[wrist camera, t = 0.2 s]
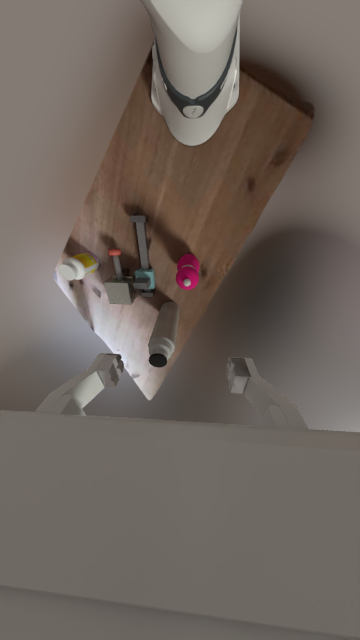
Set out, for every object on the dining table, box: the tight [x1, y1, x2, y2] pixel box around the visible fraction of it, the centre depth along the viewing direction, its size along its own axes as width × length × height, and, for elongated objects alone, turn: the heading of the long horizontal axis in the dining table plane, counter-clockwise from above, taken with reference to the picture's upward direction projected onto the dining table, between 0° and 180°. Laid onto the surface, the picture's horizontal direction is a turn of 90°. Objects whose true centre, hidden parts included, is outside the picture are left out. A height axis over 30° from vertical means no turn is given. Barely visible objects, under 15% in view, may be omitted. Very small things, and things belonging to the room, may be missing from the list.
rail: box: [130, 216, 155, 297], centre depth 52 cm, size 25×4×4 cm, turn 0°
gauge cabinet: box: [104, 276, 138, 305], centre depth 56 cm, size 8×8×8 cm
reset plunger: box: [108, 249, 123, 280], centre depth 52 cm, size 11×4×4 cm, turn 0°
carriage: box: [133, 268, 155, 289], centre depth 52 cm, size 6×6×9 cm
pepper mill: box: [176, 254, 199, 290], centre depth 45 cm, size 7×7×20 cm
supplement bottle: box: [58, 252, 99, 280], centre depth 50 cm, size 7×7×13 cm
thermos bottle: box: [148, 302, 180, 367], centre depth 52 cm, size 8×8×28 cm
